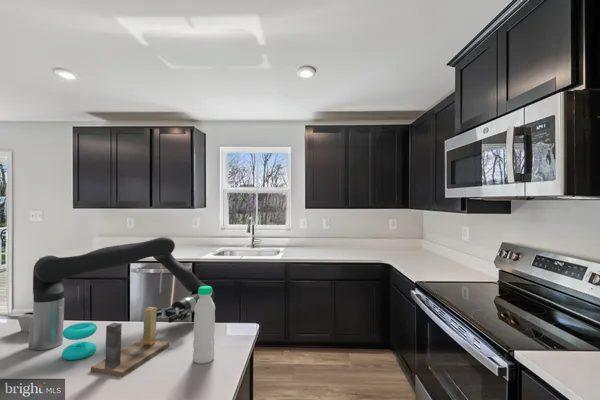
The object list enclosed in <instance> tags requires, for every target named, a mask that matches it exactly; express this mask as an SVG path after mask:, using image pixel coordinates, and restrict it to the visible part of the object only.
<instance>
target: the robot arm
mask: <svg viewBox="0 0 600 400" xmlns="http://www.w3.org/2000/svg"><path fill="white" fill-rule="evenodd" d="M175 247H176V243H175V242H174V240H173V239H172V238H170V237H169V236H161V237H158V238H153V239H150V240H146V241H141V242H135V243H134V242H133V243H125V244H119V245H118V244H117V245H112V246H106V247H102V248H98V249H95V250H93V251H90V252H87V253H84V254H81V255H80V254H79V255H73V256H66V257H65V256H63V257H58V256H56V255H45V256H43V257H41V258H39V259H38V260H37V261H36V262H35V263H34V266H33V271H32V295H33V299H32V301H33V305H32V306H33V307H32V311H33V321H32V322H30V326H29V332H28V349H29V350H33V351H45V350H50V349H53V348H56V347H59V346H61V345H62V344H63V343H64V336H63V331H64V325H65V324H64V321H65V317H64V315H65V296H66V295H65V294H66V293H65V292H66V291H65V287H64V280H65V279H69V278H73V277H75V276H79V275H82V274H87V273H95V272H101V271H106V270H112V269H116V268H117V269H118V268H121V267H124V266H127V265H131V264H133V263H136V262H139V261H140V260H143V259H147V258H152V257H153V259H154V260H156V261H157V262H158V263H159V264H161V265H162V266H163V267H164V268H166V269H167V270H168V272H170V273H171V274H172V275H173V276H174V278H176V279H177V280H178V282H179V283H180V284H181V285H182V286H183V287H184V288H185V290H186V291H187V292H188V293H192V292H197V293H196V294H195V293H194V294H191V295H189V296H186V297H183V298H180V299H178V300H176V301H174V302H173V303H172V304H171V306H168V307H167V308H165V306H161V307H159V308H157V313H156V319H159V318H161V319H165V318H166V319H167V318H168V322H167V323H169V324H171V323H173V322H175V321H179V320H180V321H185V320H186V319H187V318H189V317H191V314H192V313H193V312H194V308H195V305H196V303H197V301H198V299H199V295H198V289H199V287H202V286H208V285H207V284H205V283H204V282H202V281H201V280H200V279H199V278H198V277H197V275H196V274H194V273H193V271H191V269H190V268H188V267H186V266H185V265H183V264H182V263H181V262H180V261H178V260H177V259H176V258H175V257H174V255H173V252H174V250H175ZM215 296H216V295H215V292H214V290H213V289H212V295H211V298H212V300H214V299H215V298H216V297H215Z"/></svg>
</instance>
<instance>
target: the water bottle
mask: <svg viewBox="0 0 600 400" xmlns="http://www.w3.org/2000/svg"><path fill="white" fill-rule="evenodd" d="M212 290H213V287H212V286H210V285H207V286H202V287H199V289H198V291H197V293H198V295H199V299H198V301H197V303H196V305H195V308H194V311H193V312H194V315H193V316H194V317H193V351H192V360H193V362H194V363H195V364H196V363H197V364H198V365H199V364H201V365H203V364H208V363H210V362H212V361H213V360H214V358H215V329H216V312H215V311H216V304H215V302H214V301H213V300H214V299H213V300H212V298H211V295H212Z"/></svg>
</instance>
